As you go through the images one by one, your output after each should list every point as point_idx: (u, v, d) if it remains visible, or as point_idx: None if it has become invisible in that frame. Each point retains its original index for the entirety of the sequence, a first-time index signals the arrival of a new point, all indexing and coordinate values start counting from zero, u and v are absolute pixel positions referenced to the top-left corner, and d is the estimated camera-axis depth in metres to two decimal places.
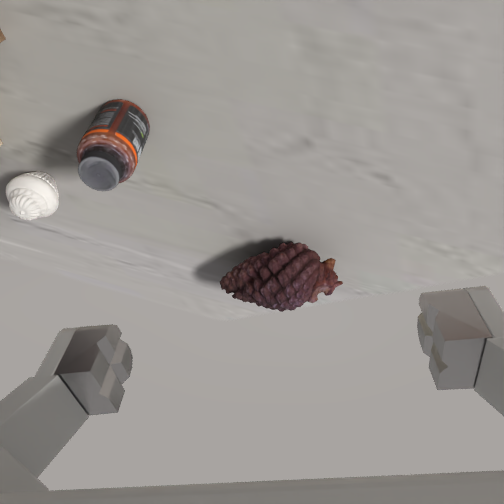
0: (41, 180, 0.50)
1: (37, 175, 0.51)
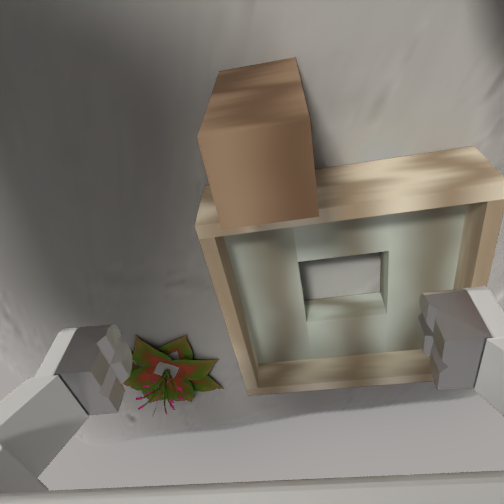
0: None
1: None
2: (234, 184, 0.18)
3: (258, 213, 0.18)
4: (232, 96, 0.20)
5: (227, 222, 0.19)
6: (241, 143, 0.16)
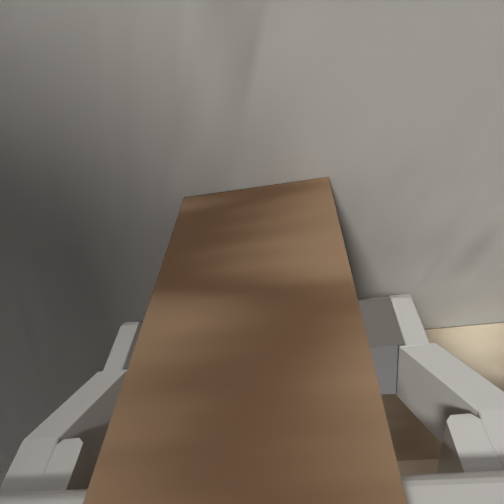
0: None
1: None
2: None
3: None
4: (193, 322, 0.09)
5: None
6: None
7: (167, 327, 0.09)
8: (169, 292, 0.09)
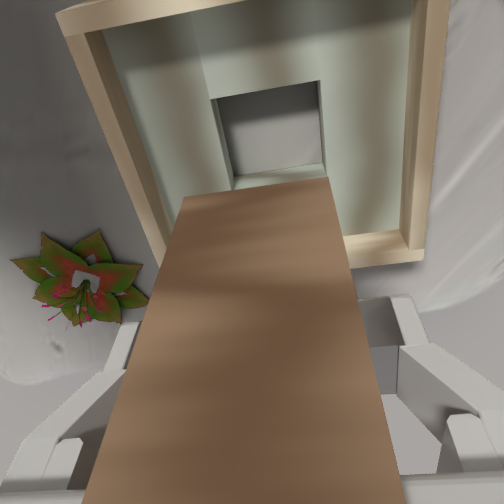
0: None
1: None
2: None
3: None
4: (193, 322, 0.08)
5: None
6: None
7: (166, 327, 0.08)
8: (168, 292, 0.09)
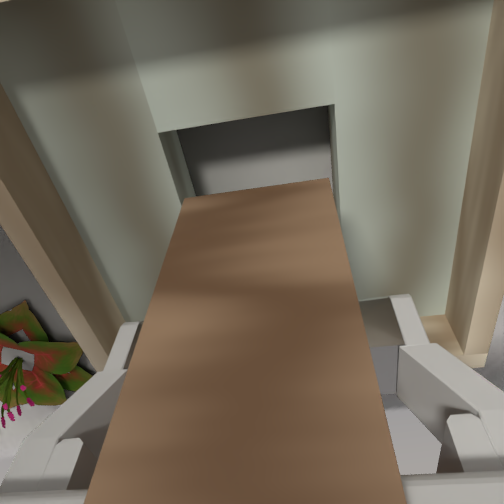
0: None
1: None
2: None
3: None
4: (194, 323, 0.08)
5: None
6: None
7: (167, 329, 0.08)
8: (169, 293, 0.09)
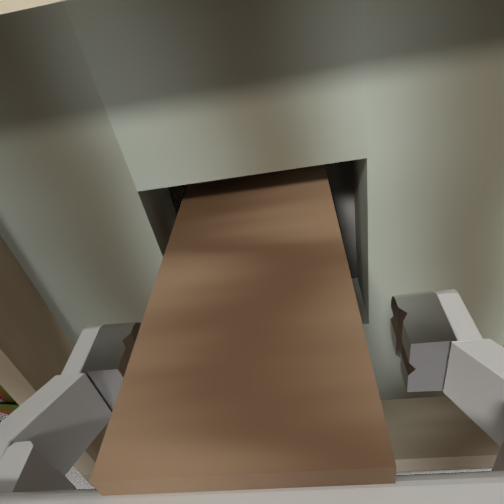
0: None
1: None
2: None
3: None
4: (201, 275, 0.10)
5: None
6: None
7: (178, 280, 0.10)
8: (179, 252, 0.11)
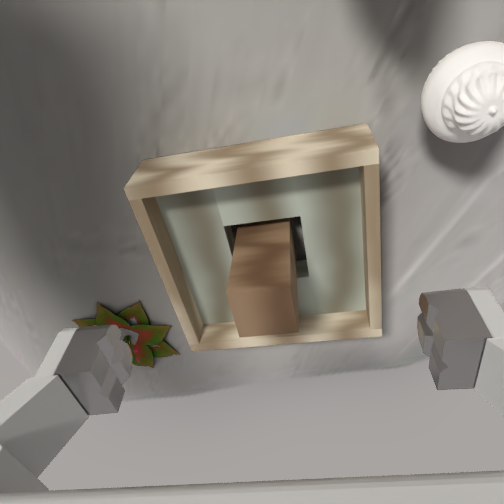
0: (440, 61, 0.25)
1: None
2: (247, 315, 0.30)
3: (261, 330, 0.31)
4: (247, 252, 0.32)
5: (243, 334, 0.31)
6: (251, 297, 0.29)
7: (240, 254, 0.32)
8: (239, 246, 0.33)
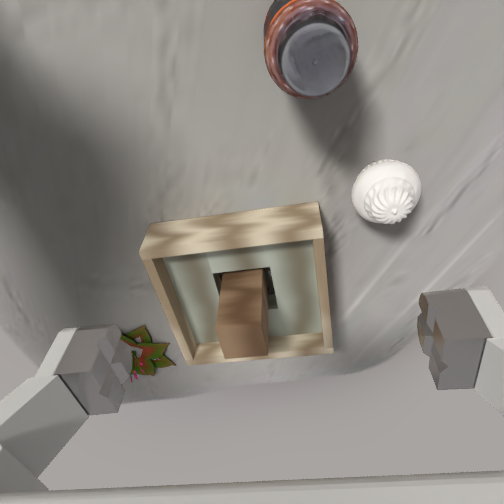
0: (362, 172, 0.36)
1: (358, 176, 0.38)
2: (230, 344, 0.41)
3: (241, 353, 0.42)
4: (230, 295, 0.43)
5: (227, 356, 0.42)
6: (233, 331, 0.40)
7: (225, 296, 0.43)
8: (224, 289, 0.44)
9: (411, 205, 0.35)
